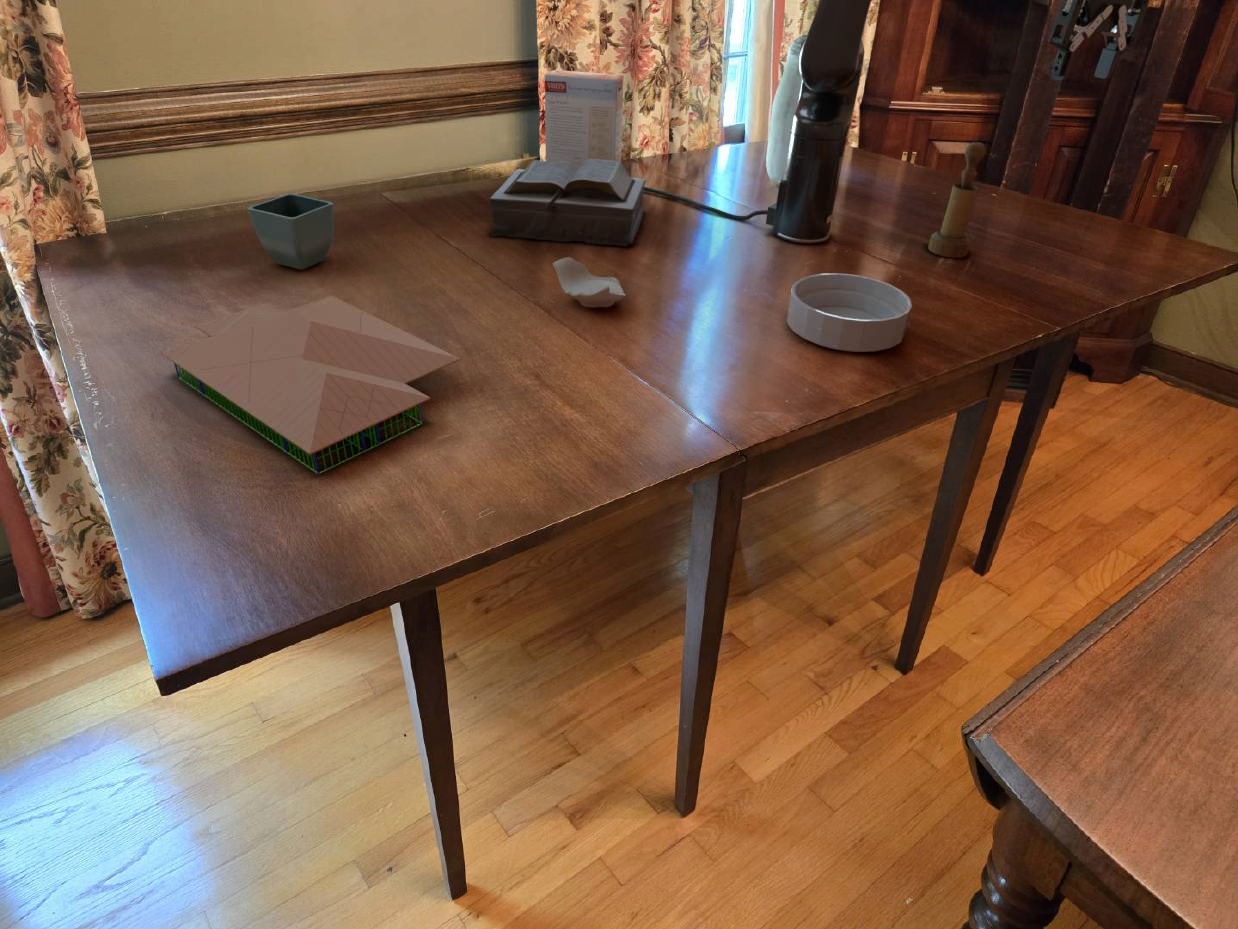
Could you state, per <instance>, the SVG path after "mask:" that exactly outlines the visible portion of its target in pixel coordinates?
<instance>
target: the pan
mask: <svg viewBox="0 0 1238 929" xmlns="http://www.w3.org/2000/svg"><path fill="white" fill-rule="evenodd" d="M912 309H913V304H912V300H911V297H910V296H908V295H907V294H906V293H905V291H903V290H901V289H899V287H896V286H894V285H892V284H891V283H888V282H885V281H882V280H879V279H876V278H873V277H868V276H864V275H859V274H852V273H851V274H849V273H840V272H839V273H838V272H834V273H827V272H826V273H817V274H812V275H811V274H810V275H807V276H804V277H802V278H799V279H797V280H796V281H795V282H794V284H792V286H791V290H790V296H789V302H788V307H787V314H786V323H787V325H788V327H789V328H790V329H791V331H793V332H794V333H795V334H797V335H798V336H799V337H801V338H803V339H804V340H806V341H809V342H811V343H814V344H816V345H819V346H821V347H825V348H829V349H832V350H837V351H842V352H843V351H844V352H852V353H853V352H854V353H855V352H856V353H863V352H879V351H884V350H888V349H891V348H894V347H895V346H897V345H899V344H900V343H902V341H903V339H904V337H905V336H906V332H907V328H908V325H909V320H910V316H911V312H912Z"/></svg>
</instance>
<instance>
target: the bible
mask: <svg viewBox="0 0 1238 929" xmlns="http://www.w3.org/2000/svg"><path fill="white" fill-rule="evenodd" d="M646 182H647V180H646V178H639V177H631V176H630V175H629V174H628V171H627V170H626V168H625V167H624V164H623V163H622V161H621V162H620V161H608V160H599V159H588V160H585V161H583V162H582V163H581V164H580V165H579V166H575V165H574V164H572V163H571V162H567V161H546V160H537V159H535V160H532V161H531V162H530V163H529V164H527V166H526V167H525V169H521V168H517V169H515V170H514V171H513V172H512V174H511V175H510V176H509V177H508V178H507V179H506V180H505V181H504V182H503V184H501V186H499V188H498V189H497V190H495V192H494V193H493V194H492V195H491V196H490V197H489V202H490V209H491V214H492V220H493V222H492V226H491V236H492V237H498V236H501V237H508V238H515V239H516V238H520V239H530V240H533V239H534V240H538V241H552V242H558V243H559V242H565V243H566V242H573V241H574V242H575V241H577V242H584V243H585V244H592V245H593V244H594V245H603V246H604V245H605V246H614V245H616V246H619V247H628V245H631V244H633V242H634V240H635V238H636V237H635V236H636V234H637V233H638V230H639V229H640V225H641V222H642V220H643V215H644V214H643V213H644V202H643V200H644V193H645V191H644V187H645V185H646Z"/></svg>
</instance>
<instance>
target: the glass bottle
mask: <svg viewBox="0 0 1238 929" xmlns="http://www.w3.org/2000/svg"><path fill="white" fill-rule="evenodd" d="M806 36H807V34H804V35H803V34H802V35H801V36H798V37H797V38H796V39H794V41H792V43H791V44H790V46H789V49H788V51H787V57H786V62H785V65H784V69H783V72H782V76H781V79H780V82H779V84H778V86H777V89H776V92H775V95H774V98H773V102H772V108H771V116H770V123H769V132H768V133H769V134H768V139H767V148H766V157H765V166H766V171H767V175H768V177H769V179H770V181H771V182H772V183H773V184H775V185H777V186H779V183H780V180H781V179H782V178H784V174H785V168H786V161H787V154H788V148H789V141H790V134H791V127H792V121H793V116H794V113H795V110H796V107H797V103H798V99H799V95H800V89H801V83H802V78H801V75H800V71H799V56H800V52H801V49H802V46H803V44H804V41H805V39H806Z"/></svg>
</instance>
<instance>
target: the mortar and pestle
mask: <svg viewBox="0 0 1238 929" xmlns="http://www.w3.org/2000/svg"><path fill="white" fill-rule="evenodd" d="M985 154H986V147H985V145H984V144H983V143H982V142H979V141H973V142H970V143H969V144H968V145H967V146H966V147H965V150H964V157H965V161H966V166H965V168H964V169H963V170H962V171H961V182H954V183H953V184H952V189H951V193H950V196H949V200H948V204H947V207H946V211H945V214H944V218H943V221H942V224H941V228H940V229H938V230H937V231H935V232H934V233H932V234H931V236H930V240H929V243H928V247H927V248H928V250H929V252H931V253H933V254H935V255H938V256H941V257H945V258H951V259H952V258H953V259H960V258H964V257H966V256H967V255H968V252H969V248H970V245H971V240H970V238H969V237H968V236H967V234H966V231H967V227H968V224H969V221H970V218H971V214H972V210H973V207H974V204H975V201H976V197H977V194H978V191H979V187H978V186H977V185H974V184H973V182H974V180H975V178H976V176H977V175H978V172H977V171H976V167H977V165H978V164H979V162H981V160H982V159H983V158H984V157H985Z"/></svg>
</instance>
